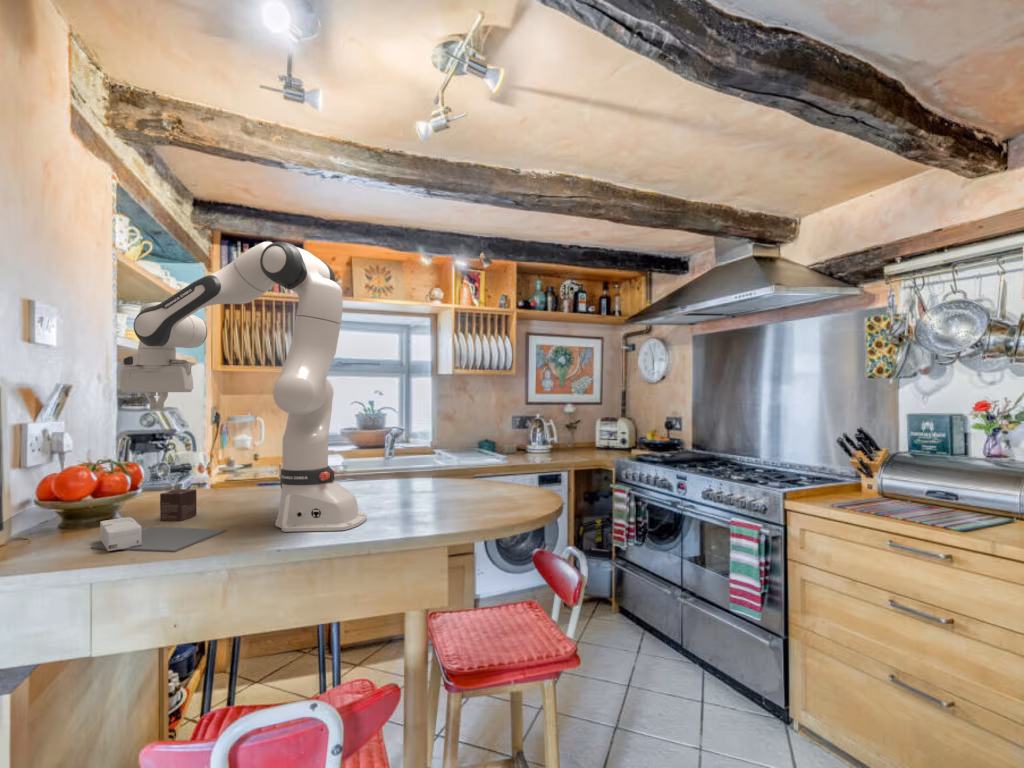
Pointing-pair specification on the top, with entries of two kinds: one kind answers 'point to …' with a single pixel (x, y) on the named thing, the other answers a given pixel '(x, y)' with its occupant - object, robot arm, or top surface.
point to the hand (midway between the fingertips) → (156, 408)
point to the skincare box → (120, 533)
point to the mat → (169, 538)
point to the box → (178, 505)
